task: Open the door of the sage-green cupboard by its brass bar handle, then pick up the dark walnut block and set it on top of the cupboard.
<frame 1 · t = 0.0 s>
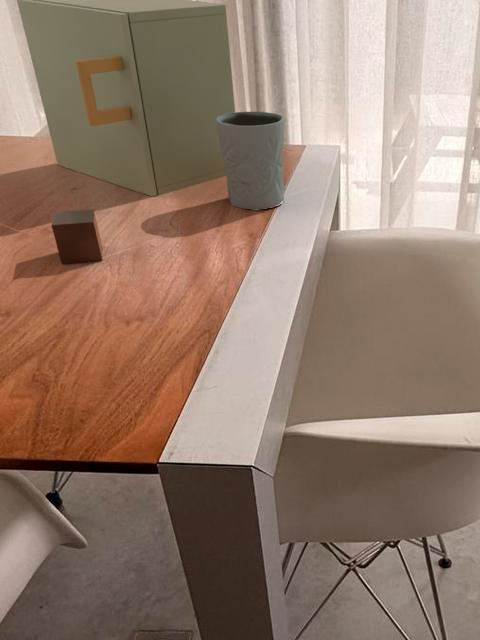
walnut block: (82, 255, 90), on the table
cupboard door: (68, 102, 105), point 12 cm above the table, hinge at 0.0°
cupboard: (151, 168, 121), on the table
grey green cup: (256, 202, 109), on the table
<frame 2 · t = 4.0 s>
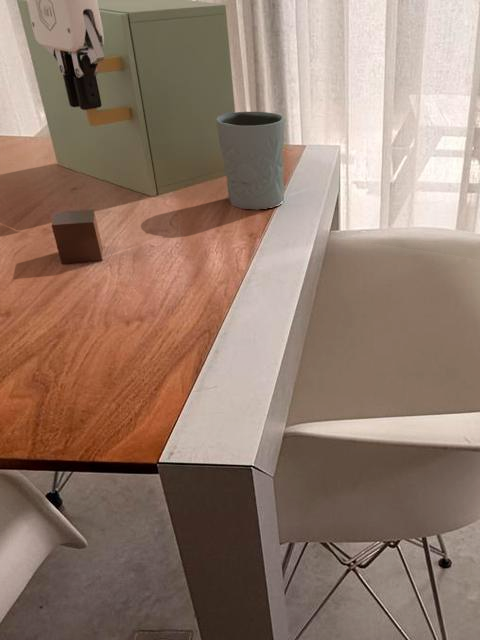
hand: (85, 106, 97), 14 cm above the table, tool pointing down, fingers closed on cupboard door
cupboard door: (68, 102, 105), point 12 cm above the table, hinge at 0.0°, touching gripper
everything else where it was.
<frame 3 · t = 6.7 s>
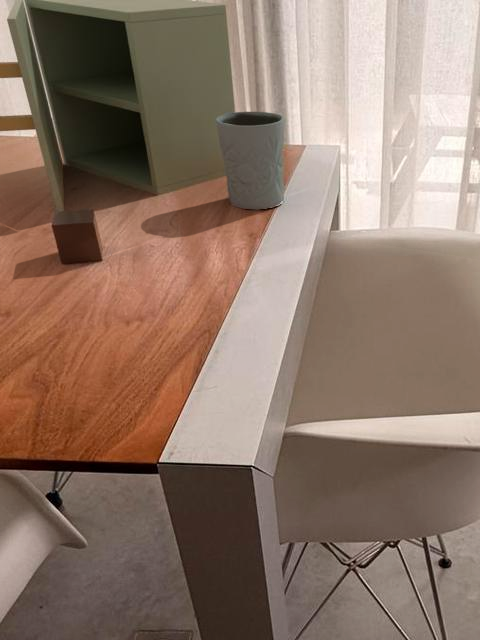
cupboard door: (15, 104, 103), point 12 cm above the table, hinge at 32.5°, touching gripper
everything else where it was.
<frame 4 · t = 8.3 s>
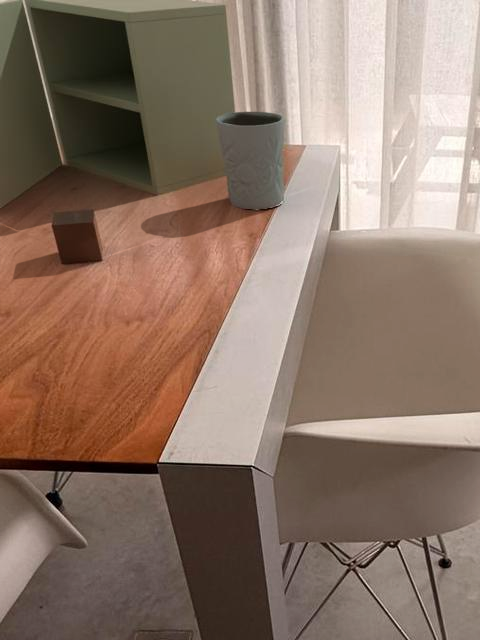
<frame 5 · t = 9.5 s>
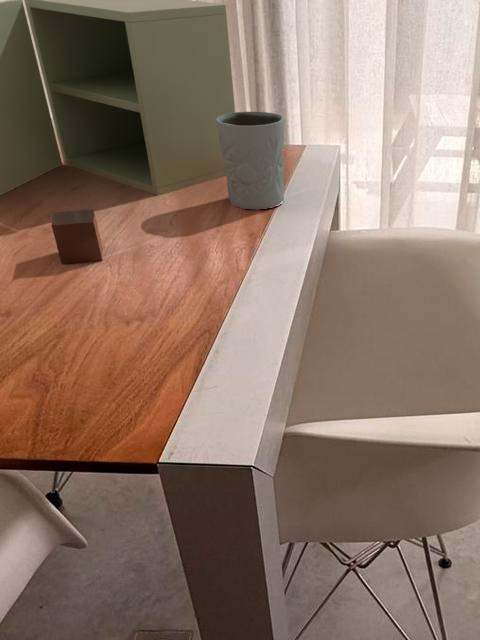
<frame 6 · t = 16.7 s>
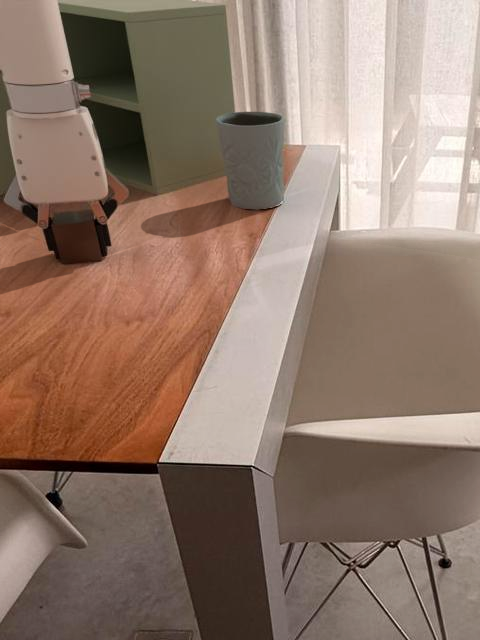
hand: (81, 252, 90), 0 cm above the table, tool pointing down, fingers closed on walnut block, 5 cm apart
walnut block: (82, 255, 90), on the table, touching gripper
when the fingers open (25 cm above the table, at t = 24.1 s): walnut block moves 2 cm, resting on cupboard.
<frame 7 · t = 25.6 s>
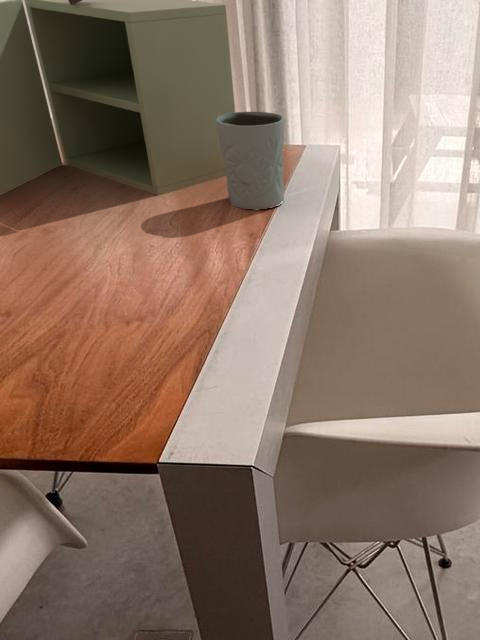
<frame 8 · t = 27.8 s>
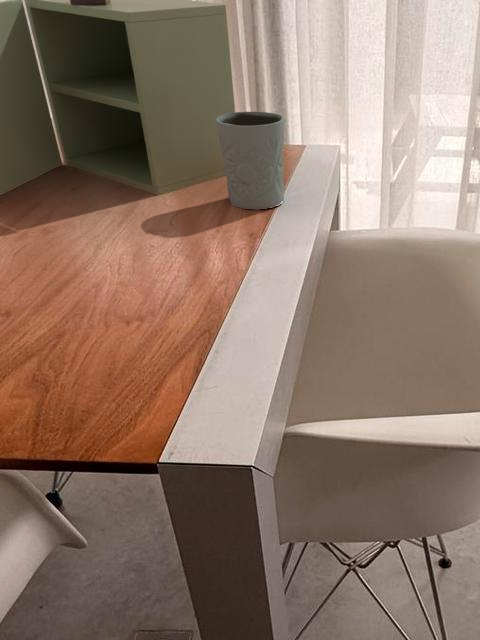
walnut block: (91, 3, 102), point 24 cm above the table, touching cupboard
at the end: cupboard door at +63° (first picture: +0°); walnut block inside the target area on the cupboard (4.7 cm from its centre), point 24.4 cm above the cupboard's base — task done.
